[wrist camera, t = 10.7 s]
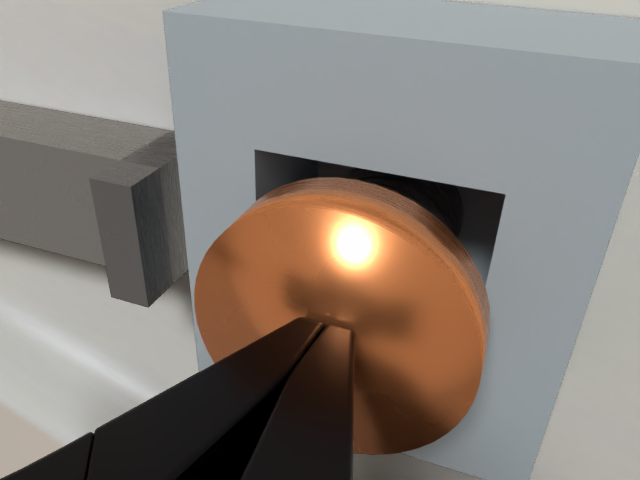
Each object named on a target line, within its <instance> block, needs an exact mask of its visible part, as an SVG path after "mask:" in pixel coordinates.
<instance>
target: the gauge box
mask: <svg viewBox="0 0 640 480" xmlns="http://www.w3.org/2000/svg"><path fill="white" fill-rule="evenodd" d="M163 21H164V31H165V41H166V51H167V61H168V71H169V81H170V91H171V101H172V111H173V121H174V131H175V141H176V151H177V161H178V171H179V181H180V190H181V200H182V210H183V220H184V230H185V240H186V250H187V260H188V270H189V280H190V290H191V300H192V310H193V320H194V330H195V340H196V350H197V360H198V370H199V372H200V371H202V370H204V369H205V368H207V367H209V366H211V365H213V364H214V362H213V360H212V358H211V357H210V355H209V353H208V351H207V349H206V347H205V344H204V342H203V340H202V337H201V334H200V331H199V328H198V324H197V320H196V314H195V308H194V290H195V282H196V277H197V273H198V270H199V266H200V264H201V262H202V260H203V258H204V256H205V254H206V252H207V251H208V249H209V248H210V247H211V245H212V244H213V242H214V241H215V240H216V239H217V238H218V237H219V236H220V235H221V234H222V233H223V232H224V231H225V230H226V229H227V228H228V227H230V226H231V225H232V224H233V223H234V222H235V221H236V220H237V219H238V218H239V217H240V216H241V215H242V214H243V213H244V212H245V211H246V210H247V209H248V208H249V207H250V206H252V205H253V204H254V203H255V202H256V201H257V200H258V199H260V198H261V197H263V196H264V195H266V194H267V193H269V192H270V191H272V190H274V189H277V188H279V187H281V186H283V185H285V184H289V183H292V182H296V181H299V180H304V179H312V178H319V177H338V178H346V177H347V176H348V175H349V174H350V172H351V171H352V170H353V169H354V168H355V167H356V168H362V169H367V170H373V171H378V172H384V173H390V174H395V175H401V176H406V177H412V178H417V179H423V180H429V181H434V182H440V183H445V184H451V185H456V187H457V189H458V191H459V194H460V197H461V200H462V205H463V223H462V227H461V231H460V234H459V237H458V239H459V240H460V241H461V243H462V244H463V246H464V247H465V248H466V250H467V251H468V253H469V254H470V256H471V257H472V259H473V261H474V262H475V264H476V266H477V268H478V270H479V272H480V274H481V277H482V280H483V282H484V285H485V288H486V291H487V296H488V301H489V307H490V330H489V337H488V343H487V348H486V353H485V359H484V364H483V369H482V375H481V380H480V385H479V388H478V391H477V394H476V397H475V400H474V402H473V404H472V405H471V407H470V409H469V411H468V413H467V414H466V415H465V416H464V418H463V419H462V420H461V421H460V422H459V424H458V425H457V426H456V427H454V428H453V429H452V430H451V431H450V432H448V433H447V434H446V435H444V436H443V437H441V438H439V439H438V440H436V441H434V442H433V443H430V444H428V445H425V446H423V447H420V448H418V449H414V450H410V451H406V452H401V453H402V454H405V455H408V456H411V457H414V458H417V459H420V460H424V461H427V462H430V463H433V464H436V465H439V466H442V467H446V468H449V469H452V470H455V471H458V472H461V473H465V474H468V475H471V476H474V477H477V478H480V479H483V480H529V478H530V475H531V472H532V469H533V466H534V463H535V460H536V458H537V455H538V452H539V449H540V446H541V443H542V440H543V437H544V434H545V431H546V428H547V425H548V422H549V419H550V416H551V413H552V410H553V407H554V404H555V401H556V398H557V395H558V392H559V389H560V386H561V383H562V380H563V377H564V374H565V372H566V369H567V366H568V363H569V360H570V357H571V354H572V351H573V348H574V345H575V342H576V339H577V336H578V333H579V330H580V327H581V324H582V321H583V318H584V315H585V312H586V309H587V306H588V303H589V300H590V297H591V294H592V291H593V288H594V286H595V283H596V280H597V277H598V274H599V271H600V268H601V265H602V262H603V259H604V256H605V253H606V250H607V247H608V244H609V241H610V238H611V235H612V232H613V229H614V226H615V223H616V220H617V217H618V214H619V211H620V208H621V205H622V202H623V200H624V197H625V194H626V191H627V188H628V185H629V182H630V179H631V176H632V173H633V170H634V167H635V164H636V161H637V158H638V155H639V152H640V18H632V17H620V16H609V15H598V14H587V13H576V12H565V11H554V10H543V9H532V8H520V7H509V6H498V5H487V4H476V3H465V2H454V1H443V0H201V1H197V2H194V3H190V4H186V5H183V6H179V7H175V8H172V9H168V10H164V11H163Z"/></svg>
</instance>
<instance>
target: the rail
mask: <svg viewBox="0 0 640 480" xmlns="http://www.w3.org/2000/svg"><path fill="white" fill-rule="evenodd" d="M0 238H1V239H4V240H8V241H12V242H16V243H20V244H23V245H27V246H31V247H35V248H39V249H42V250H46V251H50V252H54V253H58V254H62V255H65V256H69V257H73V258H77V259H81V260H84V261H88V262H92V263H96V264H100V265H103V266H106V272H107V277H108V282H109V288H110V293H111V297H113V298H116V299H120V300H123V301H127V302H130V303H134V304H138V305H141V306H145V307H148V308H149V307H150V306H151V305H152V304H153V303H154V302H155V301H156V300H157V299H158V298H159V297H160V296H161V295H162V294H163V293H164V292H165V291H166V290H167V289H168V288H169V287H170V286H171V285H172V284H173V283H174V282H175V281H176V280H178V279H179V278H180V277H181V276H182V275H183V274H184V273H185V272H186V271H187V270H188V260H187V250H186V240H185V230H184V220H183V210H182V200H181V190H180V181H179V171H178V161H177V151H176V141H175V131H170V130H165V129H159V128H153V127H148V126H142V125H136V124H131V123H125V122H119V121H114V120H108V119H102V118H97V117H91V116H85V115H80V114H74V113H68V112H63V111H57V110H52V109H46V108H40V107H35V106H29V105H23V104H18V103H12V102H6V101H1V100H0Z"/></svg>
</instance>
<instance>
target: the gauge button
mask: <svg viewBox="0 0 640 480" xmlns="http://www.w3.org/2000/svg"><path fill="white" fill-rule="evenodd" d="M462 223H463V205H462V200H461V197H460V194H459V191H458V189H457V187H456V185H451V184H445V183H440V182H434V181H429V180H423V179H417V178H412V177H406V176H401V175H395V174H390V173H384V172H378V171H373V170H367V169H362V168H356V167H355V168H354V169H353V170H352V171H351V172H350V174H349V175H348V176H347V177H346V178H338V177H319V178H312V179H304V180H299V181H296V182H292V183H289V184H285V185H283V186H281V187H279V188H277V189H274V190H272V191H270V192H269V193H267V194H266V195H264V196H263V197H261V198H260V199H258V200H257V201H256V202H255V203H254V204H253V205H252V206H250V207H249V208H248V209H247V210H246V211H245V212H244V213H243V214H242V215H241V216H240V217H239V218H238V219H237V220H236V221H235V222H234V223H233V224H232V225H231V226H230V227H228V228H227V229H226V230H225V231H224V232H223V233H222V234H221V235H220V236H219V237H218V238H217V239H216V240H215V241H214V242H213V244H212V245H211V247H210V248H209V249H208V251H207V252H206V254H205V256H204V258H203V260H202V262H201V264H200V266H199V270H198V273H197V277H196V282H195V290H194V308H195V314H196V320H197V324H198V328H199V331H200V334H201V337H202V340H203V342H204V344H205V347H206V349H207V351H208V353H209V355H210V357H211V358H212V360H213V362H214V364H215V363H216V362H218V361H220V360H222V359H224V358H225V357H227V356H229V355H231V354H233V353H234V352H236V351H238V350H240V349H242V348H244V347H245V346H247V345H249V344H251V343H253V342H254V341H256V340H258V339H260V338H262V337H263V336H265V335H267V334H269V333H271V332H272V331H274V330H276V329H278V328H280V327H282V326H283V325H285V324H287V323H289V322H291V321H292V320H294V319H296V318H299V317H305V318H309V319H313V320H317V321H321V322H323V323H324V324H325V325H326V326H327V325H336V326H339V327H343V328H347V329H351V330H352V331H353V332H354V335H355V342H354V419H353V453H359V454H370V455H374V454H393V453H401V452H406V451H410V450H414V449H418V448H420V447H423V446H425V445H428V444H430V443H433V442H434V441H436V440H438V439H439V438H441V437H443V436H444V435H446V434H447V433H448V432H450V431H451V430H452V429H453V428H454V427H456V426H457V425H458V424H459V422H460V421H461V420H462V419H463V418H464V416H465V415H466V414H467V413H468V411H469V409H470V407H471V405H472V404H473V402H474V400H475V397H476V394H477V391H478V388H479V385H480V380H481V375H482V369H483V364H484V359H485V353H486V348H487V343H488V337H489V330H490V307H489V301H488V296H487V291H486V288H485V285H484V282H483V280H482V277H481V274H480V272H479V270H478V268H477V266H476V264H475V262H474V261H473V259H472V257H471V256H470V254H469V253H468V251H467V250H466V248H465V247H464V246H463V244H462V243H461V241H460V240H459V239H458V237H459V234H460V231H461V227H462Z"/></svg>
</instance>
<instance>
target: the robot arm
mask: <svg viewBox="0 0 640 480" xmlns="http://www.w3.org/2000/svg"><path fill="white" fill-rule="evenodd" d="M354 342H355V335H354V332H353V331H352V330H351V329H347V328H343V327H339V326H336V325H327V326H326V325H325V324H324V323H323V322H321V321H317V320H313V319H309V318H305V317H299V318H296V319H294V320H292V321H291V322H289V323H287V324H285V325H283V326H282V327H280V328H278V329H276V330H274V331H272V332H271V333H269V334H267V335H265V336H263V337H262V338H260V339H258V340H256V341H254V342H253V343H251V344H249V345H247V346H245V347H244V348H242V349H240V350H238V351H236V352H234V353H233V354H231V355H229V356H227V357H225V358H224V359H222V360H220V361H218V362H216V363H215V364H213V365H211V366H209V367H207V368H205V369H204V370H202V371H200V372H198V373H196V374H195V375H193V376H191V377H189V378H187V379H186V380H184V381H182V382H180V383H178V384H176V385H175V386H173V387H171V388H169V389H167V390H166V391H164V392H162V393H160V394H158V395H157V396H155V397H153V398H151V399H149V400H147V401H146V402H144V403H142V404H140V405H138V406H137V407H135V408H133V409H131V410H129V411H128V412H126V413H124V414H122V415H120V416H119V417H117V418H115V419H113V420H111V421H109V422H108V423H106V424H104V425H102V426H100V427H99V428H97V429H96V430H95V433H92V432H89V433H87V434H85V435H84V436H82V437H80V438H78V439H76V440H75V441H73V442H71V443H69V444H67V445H66V446H64V447H62V448H60V449H58V450H56V451H54V452H52V453H51V454H49V455H47V456H45V457H43V458H41V459H39V460H37V461H35V462H33V463H32V464H29V465H28V466H26V467H24V468H22V469H20V470H18V471H16V472H14V473H12V474H10V475H7V476H5V477H3V478H1V479H0V480H353V419H354Z"/></svg>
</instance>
